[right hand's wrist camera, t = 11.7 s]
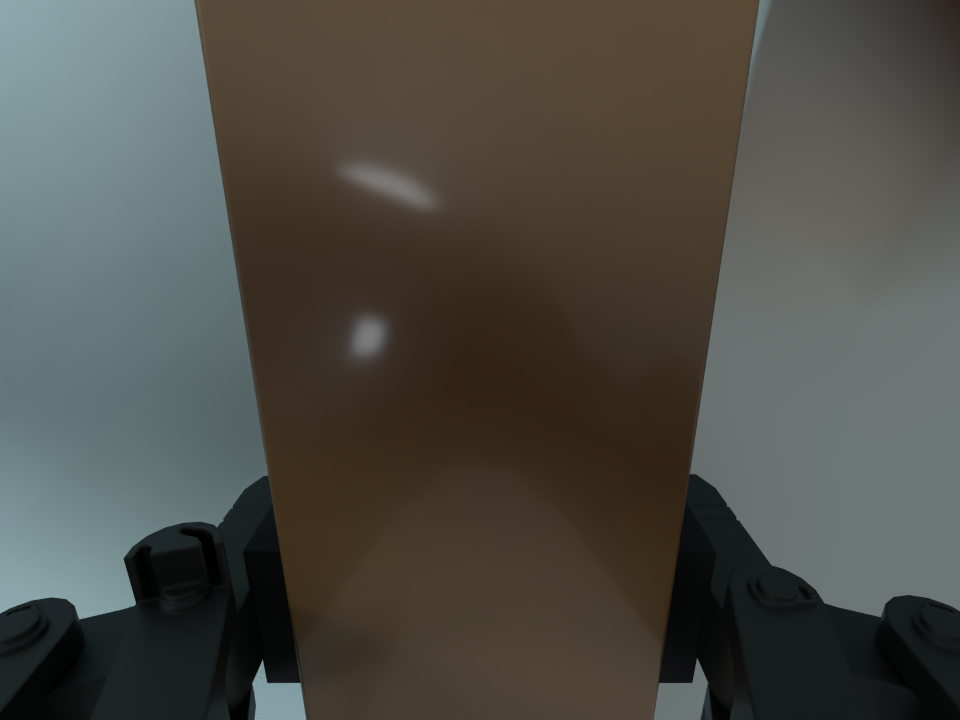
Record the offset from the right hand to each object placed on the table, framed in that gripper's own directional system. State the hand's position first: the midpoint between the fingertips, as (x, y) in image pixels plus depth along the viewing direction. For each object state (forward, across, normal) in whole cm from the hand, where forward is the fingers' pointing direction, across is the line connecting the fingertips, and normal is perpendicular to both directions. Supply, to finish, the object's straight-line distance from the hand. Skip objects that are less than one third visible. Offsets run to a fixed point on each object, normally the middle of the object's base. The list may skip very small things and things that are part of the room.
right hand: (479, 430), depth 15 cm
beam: (+1, 0, -27) cm, 27 cm away
